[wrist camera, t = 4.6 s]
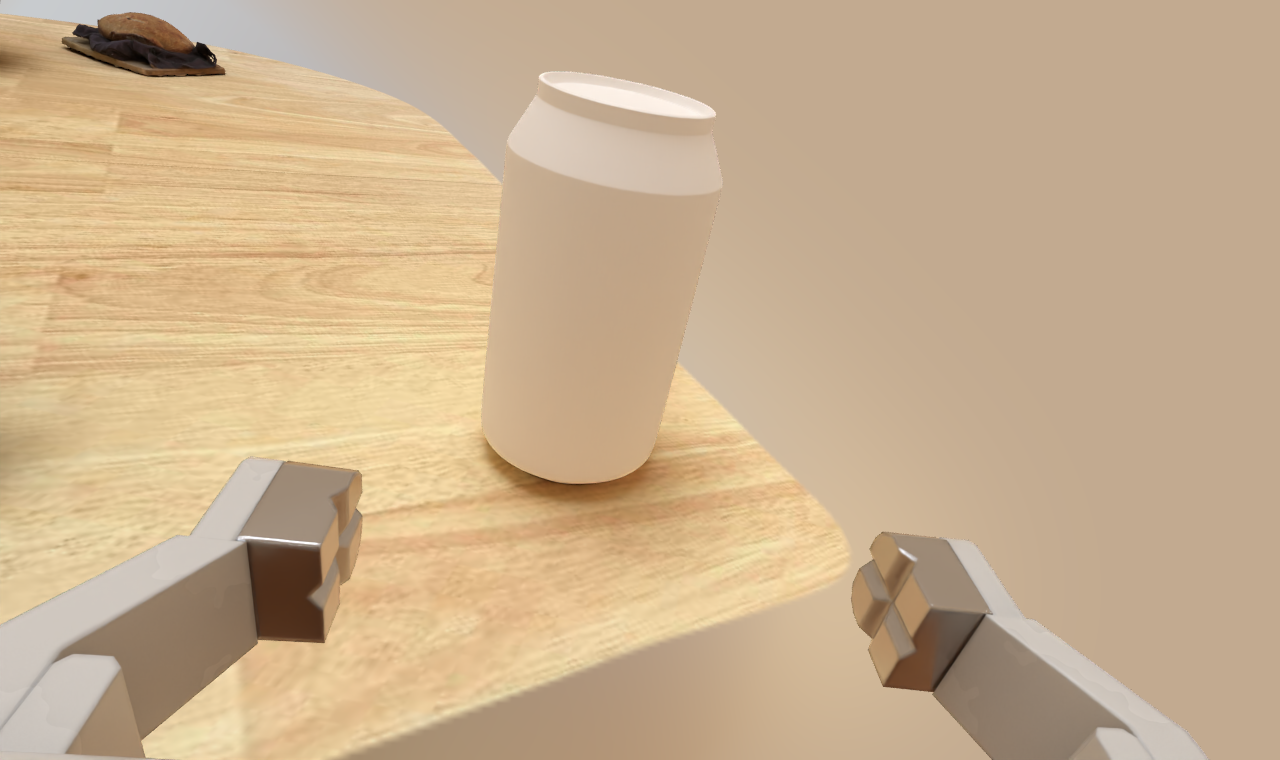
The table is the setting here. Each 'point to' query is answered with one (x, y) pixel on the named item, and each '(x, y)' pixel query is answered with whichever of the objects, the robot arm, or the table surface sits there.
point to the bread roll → (143, 46)
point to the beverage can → (595, 273)
